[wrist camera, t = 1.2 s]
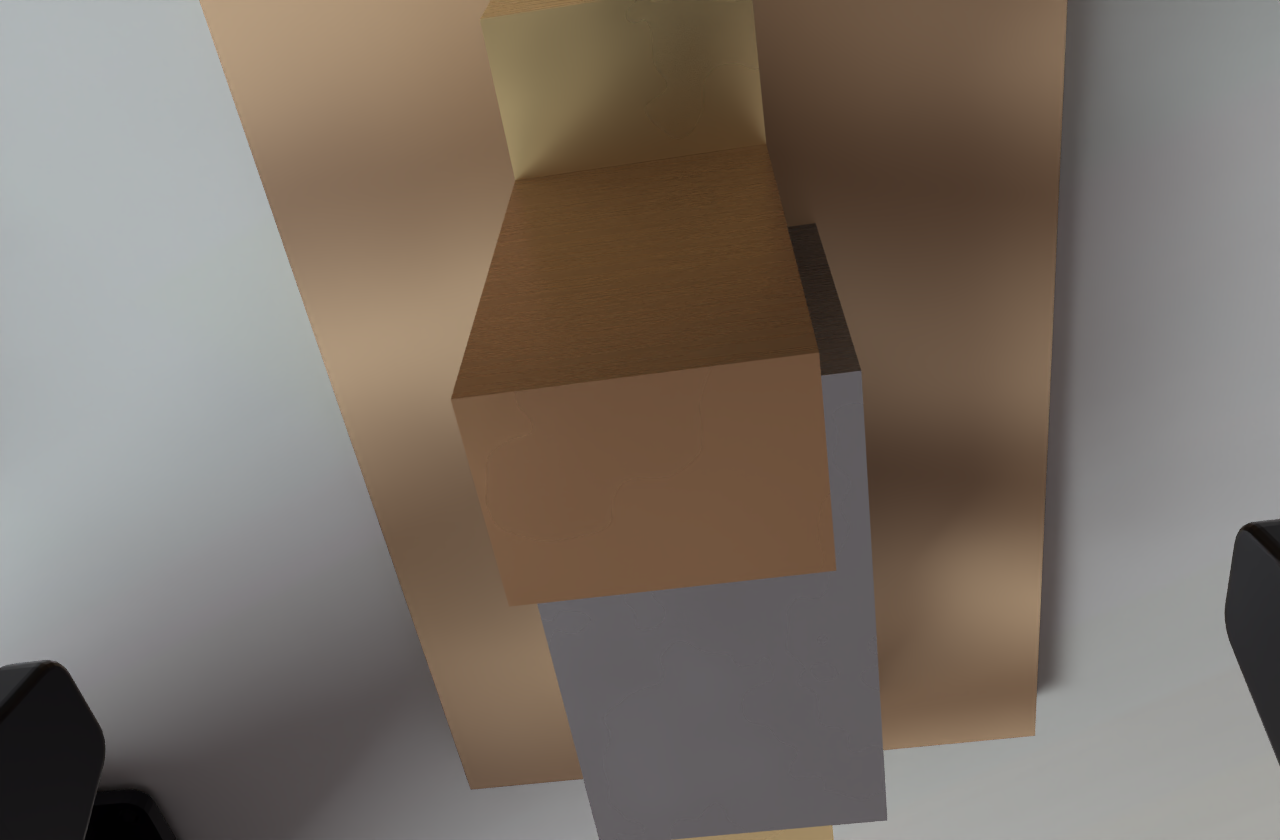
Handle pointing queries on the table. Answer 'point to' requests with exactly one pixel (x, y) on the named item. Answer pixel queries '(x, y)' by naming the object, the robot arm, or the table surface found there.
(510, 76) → the l-shaped wooden step
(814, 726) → the sleeve
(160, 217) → the table surface
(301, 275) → the base board
